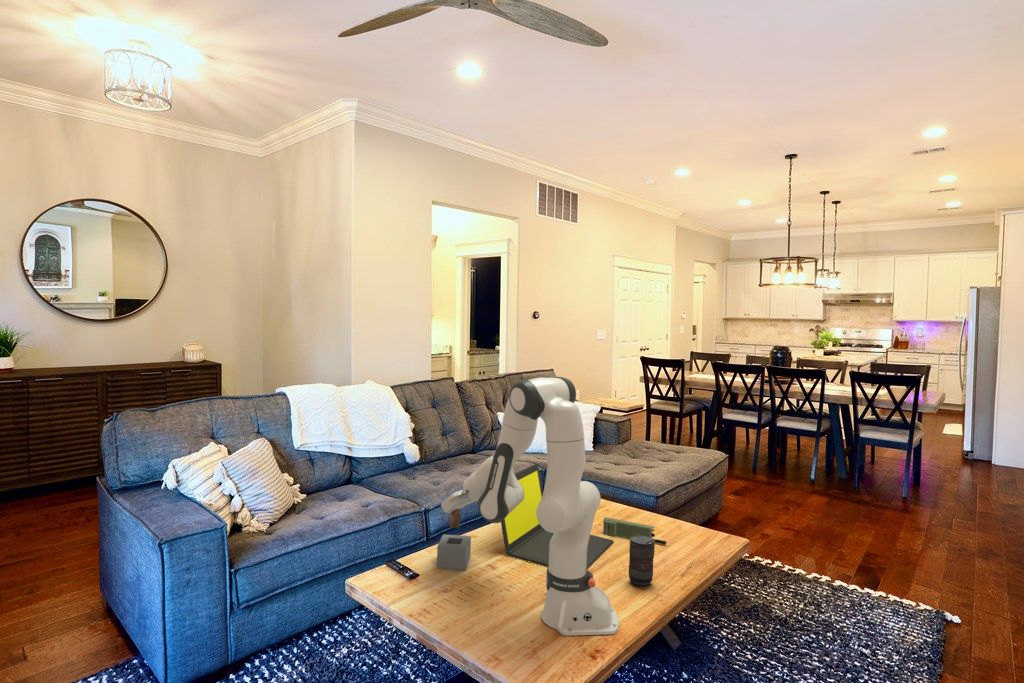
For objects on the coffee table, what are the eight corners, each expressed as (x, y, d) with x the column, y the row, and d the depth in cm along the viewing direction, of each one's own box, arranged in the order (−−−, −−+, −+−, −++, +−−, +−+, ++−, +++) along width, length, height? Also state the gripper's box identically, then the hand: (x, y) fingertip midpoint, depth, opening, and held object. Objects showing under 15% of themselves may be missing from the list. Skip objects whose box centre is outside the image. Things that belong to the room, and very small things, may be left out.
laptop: (580, 577, 192) (583, 501, 190) (492, 552, 209) (494, 483, 208) (613, 543, 221) (616, 477, 219) (534, 524, 238) (536, 463, 237)
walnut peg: (460, 524, 200) (461, 496, 199) (458, 528, 196) (459, 500, 196) (450, 524, 200) (451, 496, 199) (448, 527, 196) (449, 499, 196)
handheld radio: (604, 531, 232) (666, 544, 221) (602, 535, 229) (665, 547, 218) (605, 516, 232) (667, 528, 221) (603, 519, 229) (665, 531, 218)
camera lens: (657, 583, 188) (659, 539, 188) (644, 591, 182) (647, 546, 182) (636, 575, 194) (637, 532, 193) (623, 583, 188) (625, 539, 187)
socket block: (470, 558, 203) (470, 536, 203) (465, 570, 193) (466, 547, 193) (442, 556, 204) (443, 534, 204) (436, 568, 194) (437, 545, 194)
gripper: (461, 503, 182) (438, 525, 188) (498, 488, 199) (476, 509, 205) (451, 487, 185) (428, 509, 191) (489, 473, 201) (467, 494, 207)
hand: (453, 509), depth 198 cm, fingers closed on walnut peg, 3 cm apart
